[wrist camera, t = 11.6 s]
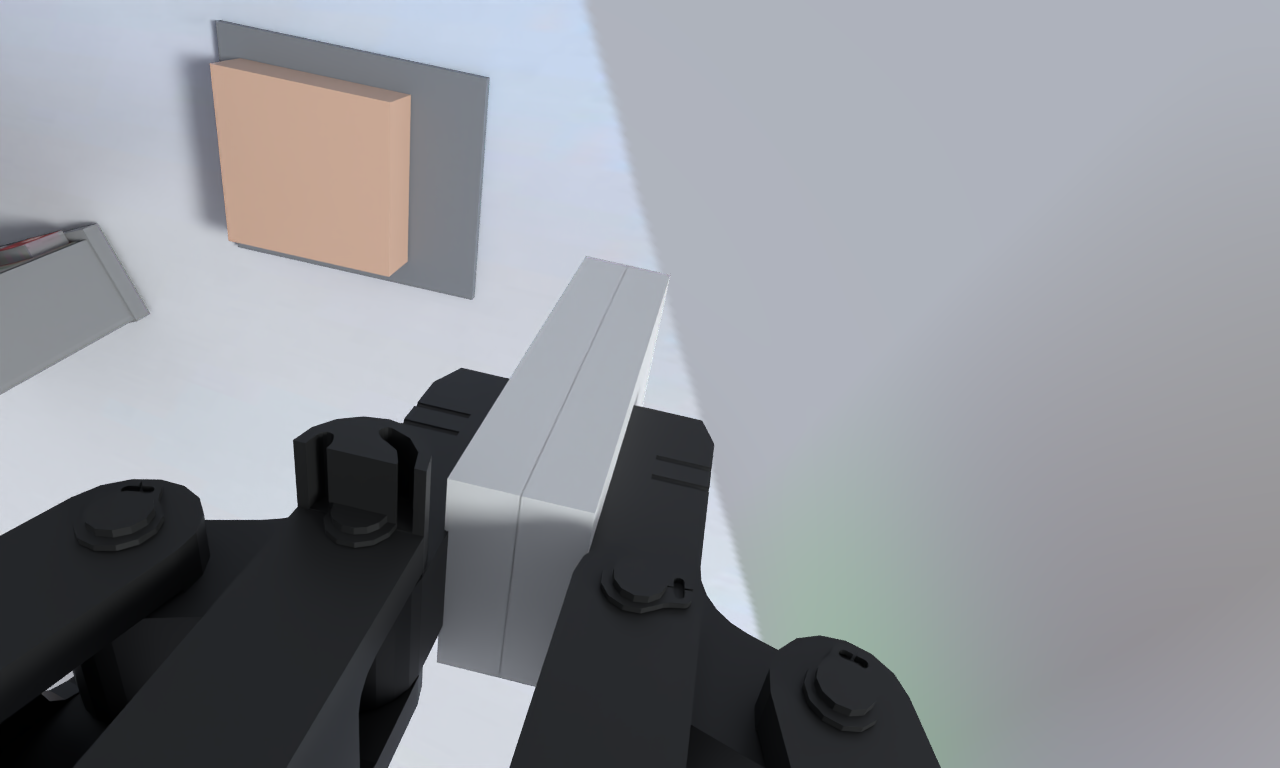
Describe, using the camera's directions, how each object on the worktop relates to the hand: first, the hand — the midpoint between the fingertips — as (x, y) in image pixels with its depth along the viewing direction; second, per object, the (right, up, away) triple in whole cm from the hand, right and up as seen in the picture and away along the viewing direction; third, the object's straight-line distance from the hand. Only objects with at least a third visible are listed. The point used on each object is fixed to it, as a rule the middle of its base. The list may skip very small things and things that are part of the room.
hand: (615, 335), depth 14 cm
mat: (-15, +11, +27) cm, 33 cm away
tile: (-12, +9, +25) cm, 30 cm away
